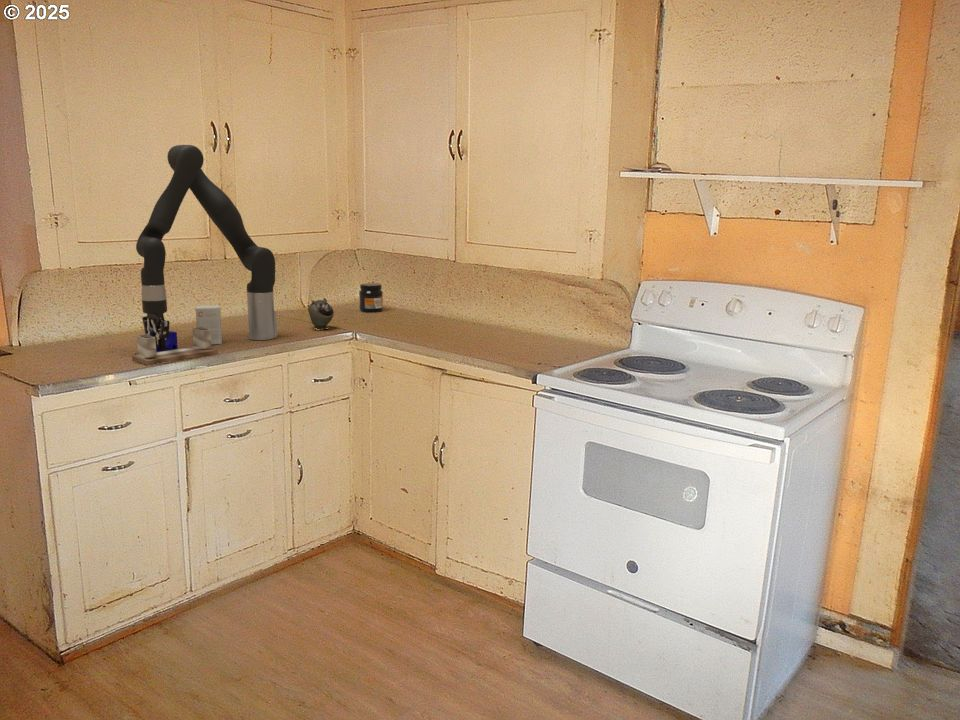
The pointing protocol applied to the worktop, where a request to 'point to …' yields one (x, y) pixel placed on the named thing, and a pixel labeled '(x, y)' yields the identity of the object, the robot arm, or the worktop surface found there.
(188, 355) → the rail board
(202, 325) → the small box
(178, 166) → the robot arm
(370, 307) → the supplement container
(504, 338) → the worktop surface
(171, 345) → the blue curved piece
